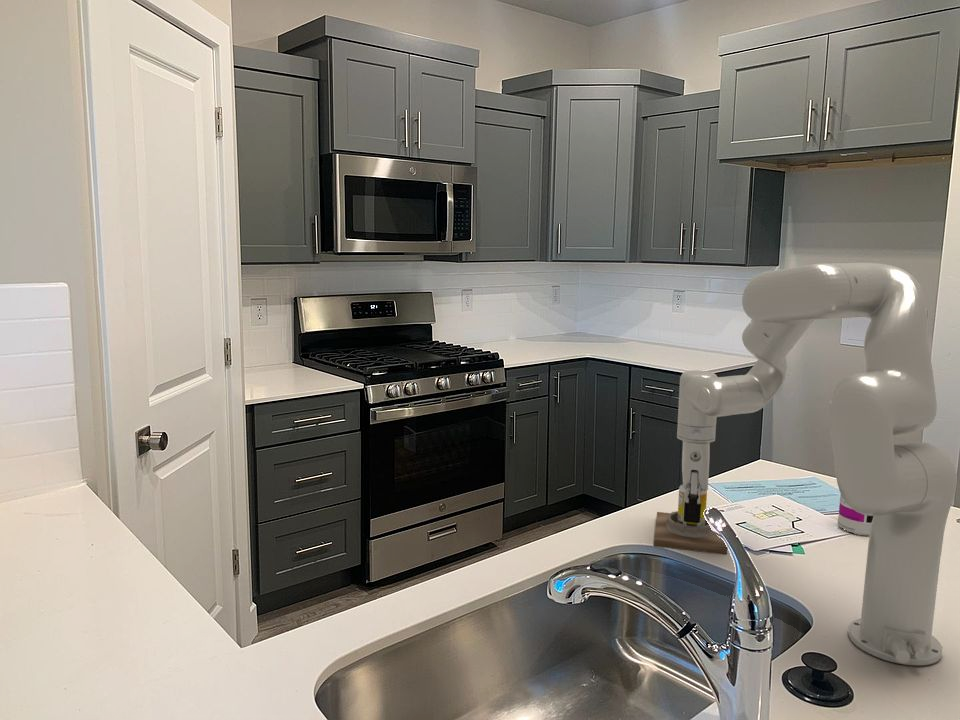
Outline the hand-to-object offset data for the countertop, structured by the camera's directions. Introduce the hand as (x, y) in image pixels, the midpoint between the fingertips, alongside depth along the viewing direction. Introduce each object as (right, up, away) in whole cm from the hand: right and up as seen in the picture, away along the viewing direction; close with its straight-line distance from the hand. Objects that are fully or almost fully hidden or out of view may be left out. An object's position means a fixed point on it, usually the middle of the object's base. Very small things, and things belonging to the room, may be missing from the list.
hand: (691, 515), depth 157 cm
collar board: (0, -4, +1) cm, 4 cm away
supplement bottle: (0, -2, 0) cm, 2 cm away
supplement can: (+37, -4, +5) cm, 38 cm away
